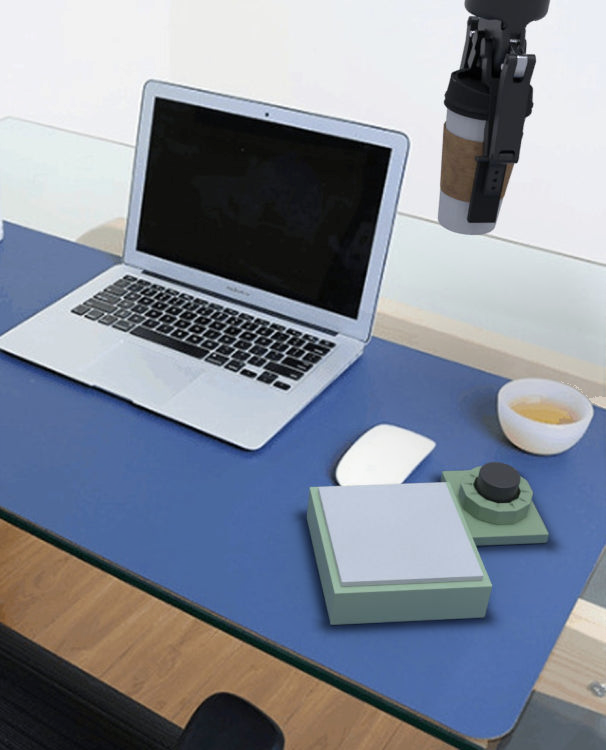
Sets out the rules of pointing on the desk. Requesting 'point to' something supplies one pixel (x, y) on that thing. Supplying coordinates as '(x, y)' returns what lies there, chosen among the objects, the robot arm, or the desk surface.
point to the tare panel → (496, 512)
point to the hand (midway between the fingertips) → (469, 203)
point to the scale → (395, 554)
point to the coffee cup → (465, 151)
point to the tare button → (498, 482)
